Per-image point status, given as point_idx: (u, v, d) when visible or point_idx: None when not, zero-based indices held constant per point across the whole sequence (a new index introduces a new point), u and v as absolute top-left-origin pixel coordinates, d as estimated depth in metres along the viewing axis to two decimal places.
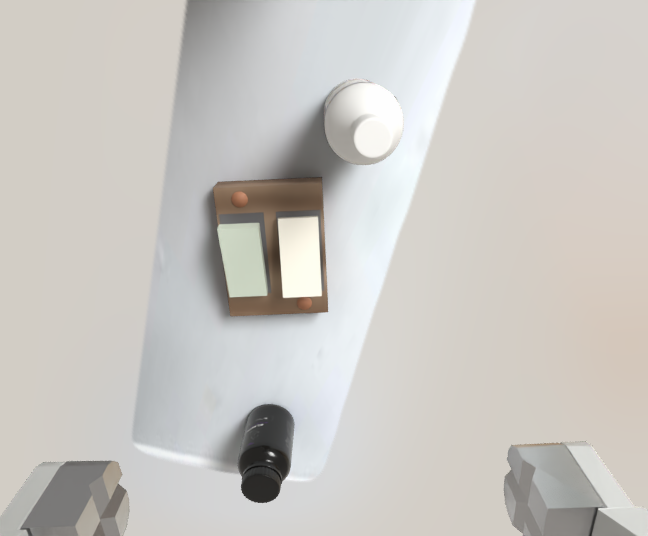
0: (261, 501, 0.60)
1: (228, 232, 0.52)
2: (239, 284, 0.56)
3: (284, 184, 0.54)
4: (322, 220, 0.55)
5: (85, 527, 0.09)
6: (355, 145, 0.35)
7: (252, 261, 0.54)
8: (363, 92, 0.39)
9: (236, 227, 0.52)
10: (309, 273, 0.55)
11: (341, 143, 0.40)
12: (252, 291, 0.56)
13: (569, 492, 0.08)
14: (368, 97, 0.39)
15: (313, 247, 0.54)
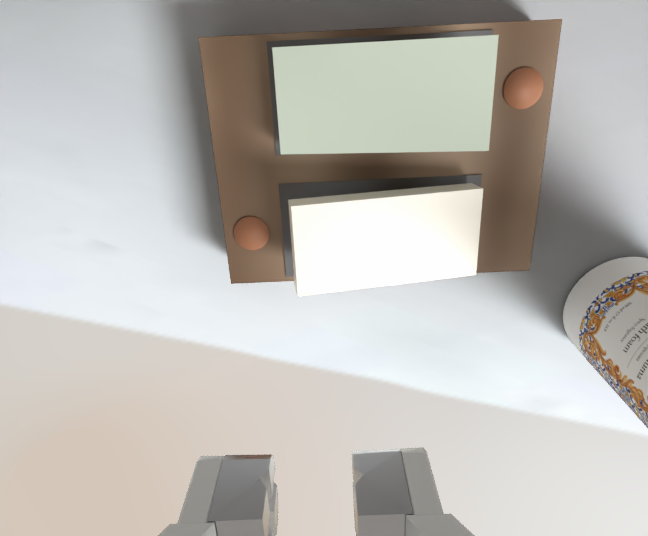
0: None
1: (484, 68, 0.19)
2: (316, 82, 0.20)
3: None
4: None
5: (265, 520, 0.09)
6: None
7: (388, 125, 0.21)
8: None
9: (492, 91, 0.20)
10: (352, 265, 0.23)
11: None
12: (293, 116, 0.21)
13: (385, 499, 0.08)
14: None
15: (412, 270, 0.24)
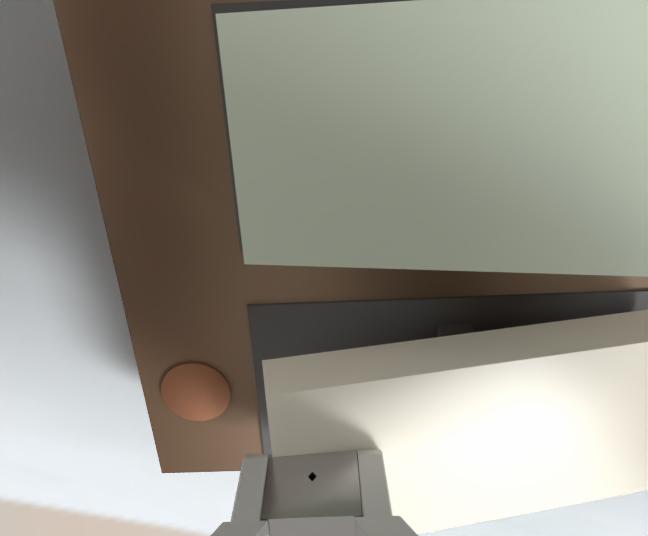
0: None
1: None
2: (327, 103, 0.08)
3: None
4: None
5: None
6: None
7: (505, 211, 0.08)
8: None
9: None
10: (402, 495, 0.11)
11: None
12: (271, 182, 0.09)
13: (336, 501, 0.08)
14: None
15: (525, 493, 0.11)
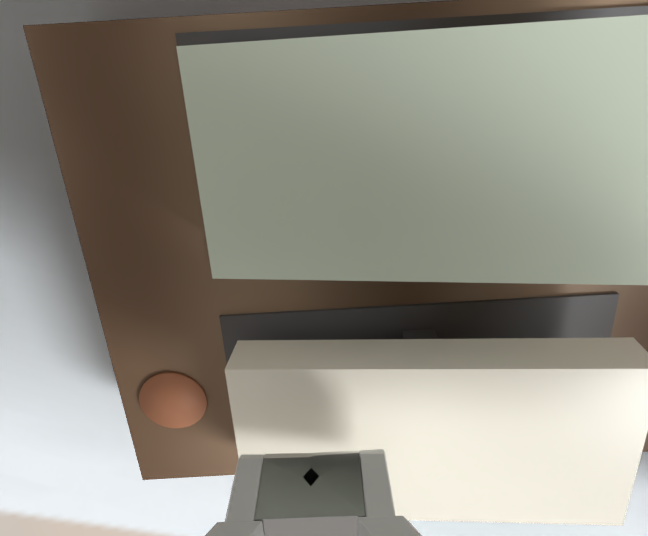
0: None
1: None
2: (283, 127, 0.09)
3: None
4: None
5: None
6: None
7: (453, 226, 0.09)
8: None
9: None
10: None
11: None
12: (234, 201, 0.09)
13: (339, 501, 0.08)
14: None
15: (479, 502, 0.11)
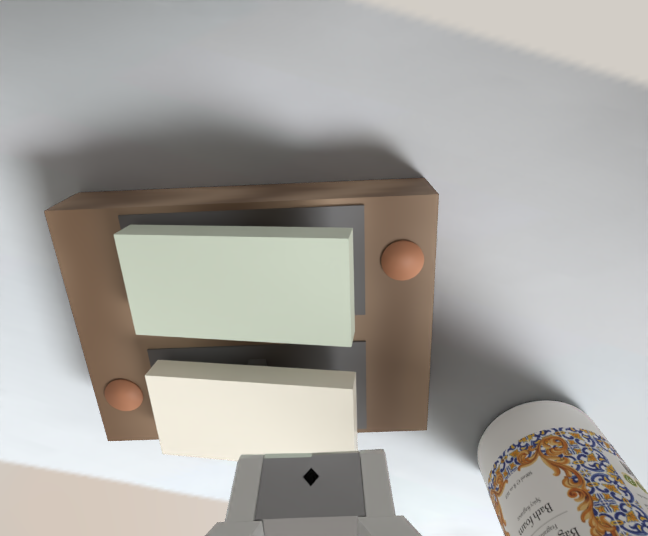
0: None
1: (337, 269, 0.17)
2: (163, 270, 0.19)
3: None
4: None
5: None
6: None
7: (243, 316, 0.19)
8: None
9: (351, 288, 0.18)
10: (213, 437, 0.22)
11: None
12: (144, 300, 0.19)
13: (339, 501, 0.08)
14: None
15: None
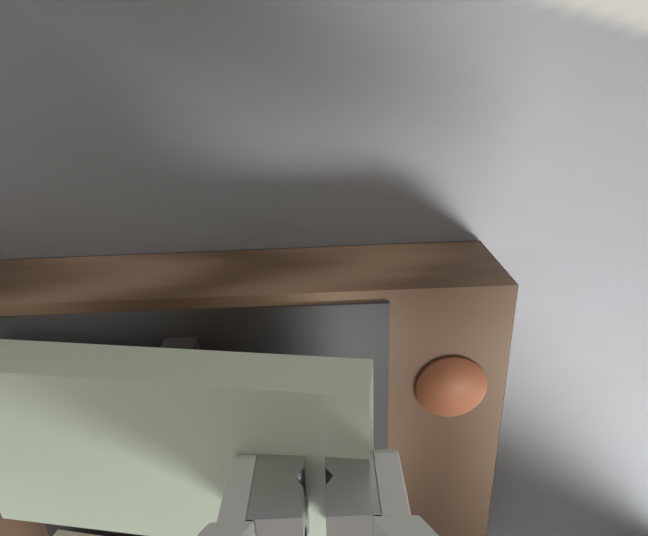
0: None
1: (347, 446, 0.09)
2: (33, 428, 0.10)
3: None
4: None
5: (303, 519, 0.09)
6: None
7: (179, 504, 0.11)
8: None
9: None
10: None
11: None
12: (7, 470, 0.11)
13: (354, 500, 0.08)
14: None
15: None
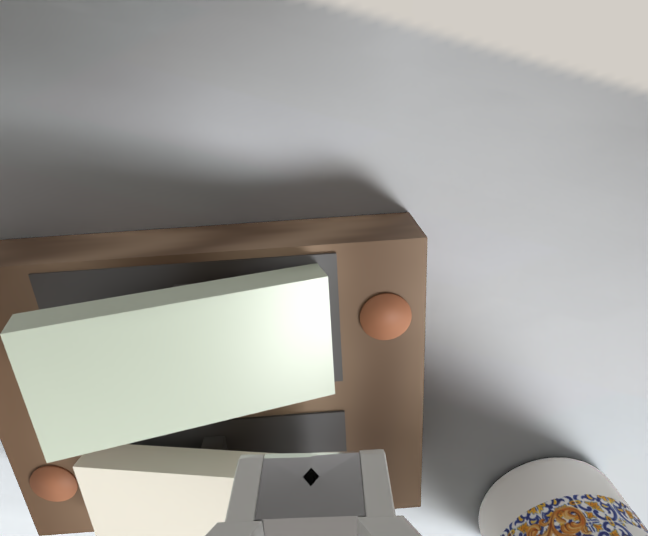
0: None
1: (317, 312, 0.15)
2: (86, 365, 0.14)
3: None
4: None
5: None
6: None
7: (205, 394, 0.15)
8: None
9: (328, 330, 0.16)
10: None
11: None
12: (57, 412, 0.14)
13: (338, 501, 0.08)
14: None
15: None
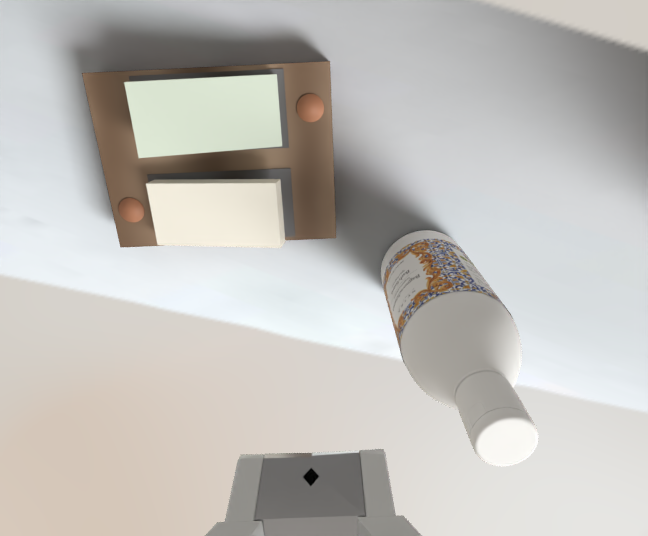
0: None
1: (271, 94, 0.31)
2: (160, 105, 0.29)
3: (333, 181, 0.34)
4: None
5: None
6: (499, 420, 0.21)
7: (215, 133, 0.31)
8: None
9: (278, 108, 0.31)
10: (190, 228, 0.33)
11: (458, 343, 0.25)
12: (145, 130, 0.30)
13: (339, 501, 0.08)
14: (518, 374, 0.26)
15: (232, 237, 0.33)
